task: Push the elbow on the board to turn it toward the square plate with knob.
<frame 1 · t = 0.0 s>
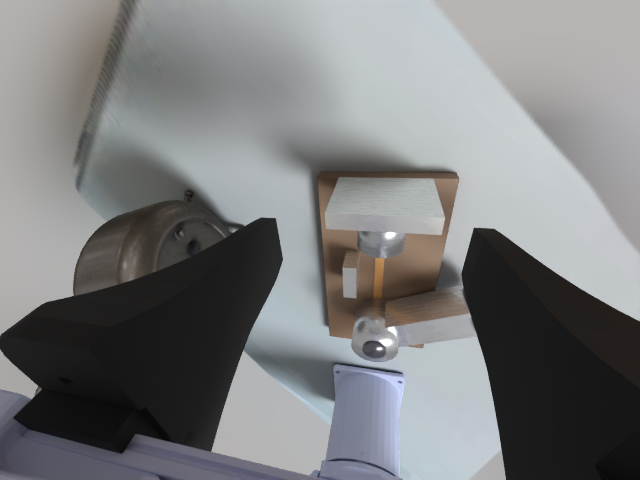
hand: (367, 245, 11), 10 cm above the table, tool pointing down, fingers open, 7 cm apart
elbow: (413, 323, 22), point 3 cm above the table, hinge at 0.0°
alarm clock: (226, 229, 26), on the table
square plate with knob: (383, 198, 20), resting on board
board: (379, 268, 24), on the table
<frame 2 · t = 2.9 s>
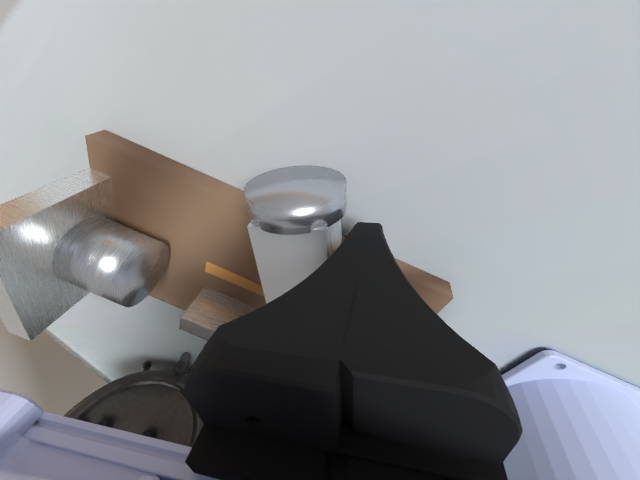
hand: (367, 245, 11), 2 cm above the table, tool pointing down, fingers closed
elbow: (307, 304, 11), point 3 cm above the table, hinge at 0.0°, touching gripper
alarm clock: (192, 364, 24), on the table
square plate with knob: (148, 225, 15), resting on board
board: (260, 273, 16), on the table
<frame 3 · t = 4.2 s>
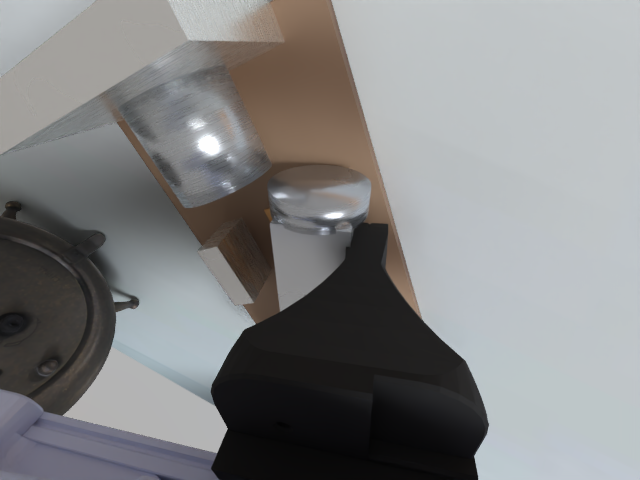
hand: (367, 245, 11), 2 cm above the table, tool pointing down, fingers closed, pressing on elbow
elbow: (317, 304, 11), point 3 cm above the table, hinge at 43.6°, touching gripper
alarm clock: (91, 246, 18), on the table
square plate with knob: (235, 107, 11), resting on board
board: (301, 243, 14), on the table
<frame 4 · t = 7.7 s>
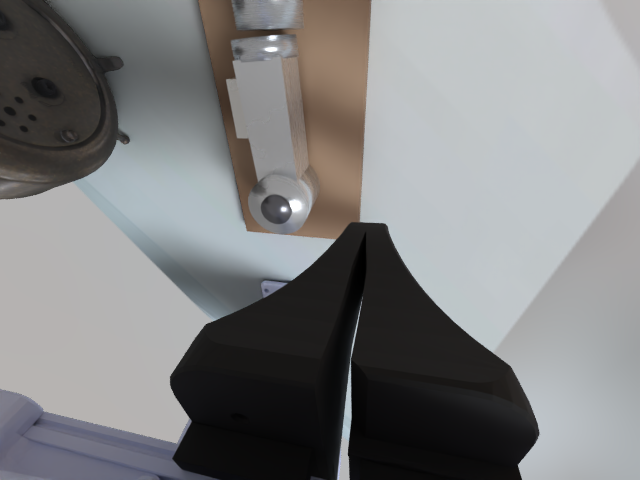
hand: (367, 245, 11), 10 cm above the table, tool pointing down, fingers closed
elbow: (277, 144, 16), point 3 cm above the table, hinge at 67.7°
alarm clock: (102, 70, 20), on the table
board: (294, 117, 18), on the table
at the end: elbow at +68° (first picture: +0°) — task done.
